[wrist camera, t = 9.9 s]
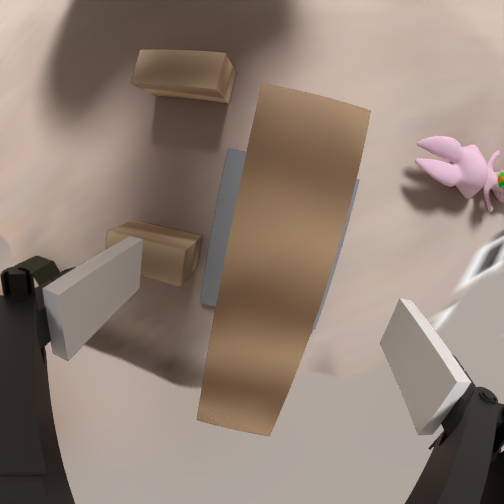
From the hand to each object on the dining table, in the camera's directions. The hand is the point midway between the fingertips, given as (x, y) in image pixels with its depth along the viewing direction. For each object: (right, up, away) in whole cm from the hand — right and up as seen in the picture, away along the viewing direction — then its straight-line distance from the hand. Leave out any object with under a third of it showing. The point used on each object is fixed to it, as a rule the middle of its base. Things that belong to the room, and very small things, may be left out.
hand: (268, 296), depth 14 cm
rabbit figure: (+20, +10, +9) cm, 24 cm away
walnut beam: (0, +1, +5) cm, 5 cm away
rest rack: (-7, +10, +11) cm, 17 cm away
